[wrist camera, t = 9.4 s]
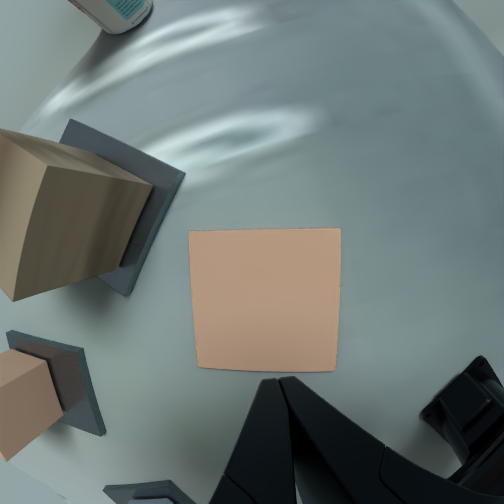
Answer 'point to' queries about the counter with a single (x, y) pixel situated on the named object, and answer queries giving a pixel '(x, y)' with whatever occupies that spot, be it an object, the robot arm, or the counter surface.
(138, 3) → the beer can
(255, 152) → the counter surface
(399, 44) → the counter surface
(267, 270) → the card
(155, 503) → the blue-grey rectangular block
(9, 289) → the brown wooden block
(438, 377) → the counter surface
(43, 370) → the tan block
